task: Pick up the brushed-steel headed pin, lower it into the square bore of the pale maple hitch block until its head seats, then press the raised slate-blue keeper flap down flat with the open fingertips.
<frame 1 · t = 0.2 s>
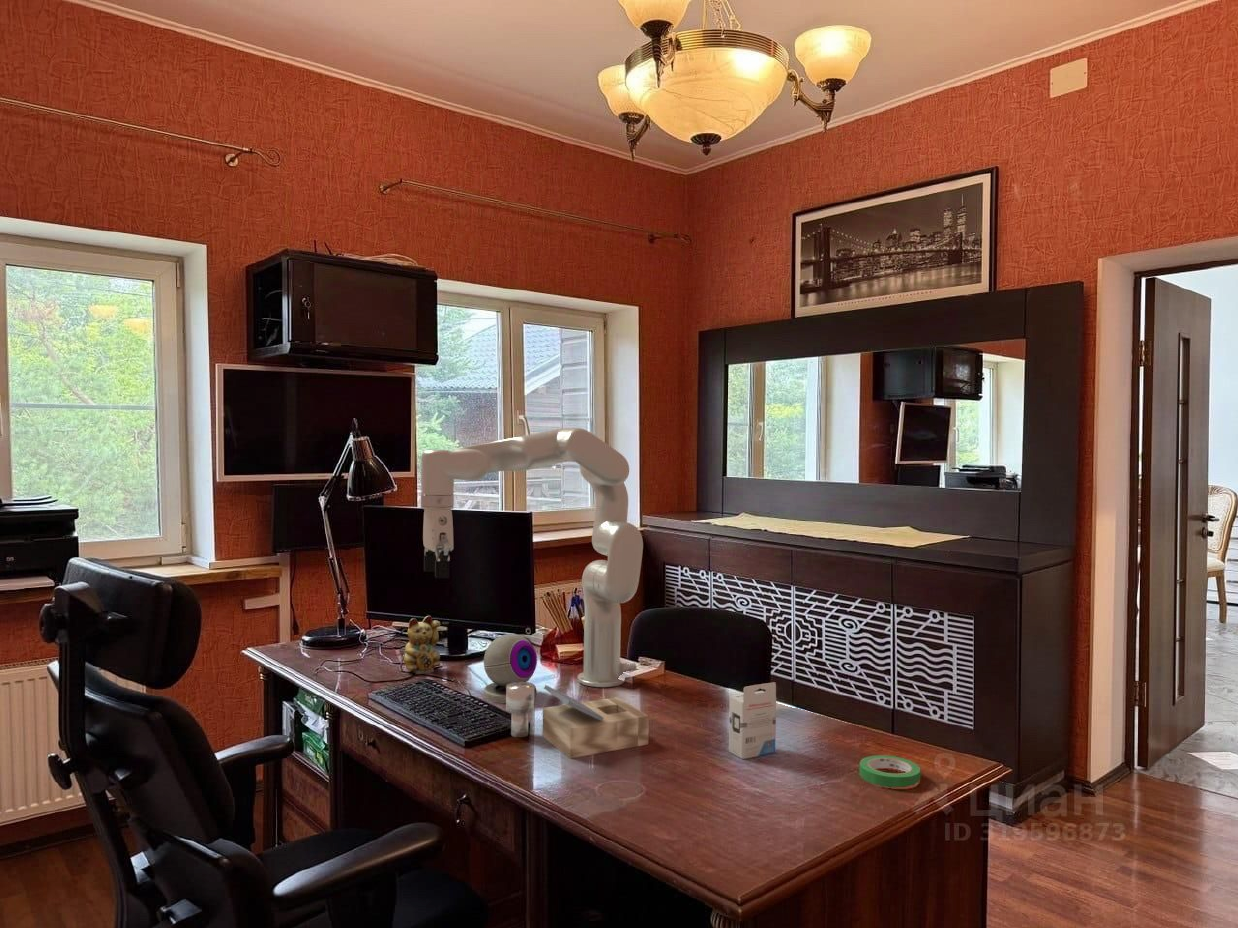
hand: (436, 574, 201), 31 cm above the table, fingers open, 9 cm apart
hitch block: (594, 739, 180), on the table
webcam: (509, 695, 211), on the table
decorative figurine: (420, 671, 230), on the table
tape roll: (889, 780, 163), on the table
ink box: (751, 753, 175), on the table
keeper flap: (573, 702, 178), point 9 cm above the table, hinge at 30.0°
steel pin: (519, 734, 183), on the table
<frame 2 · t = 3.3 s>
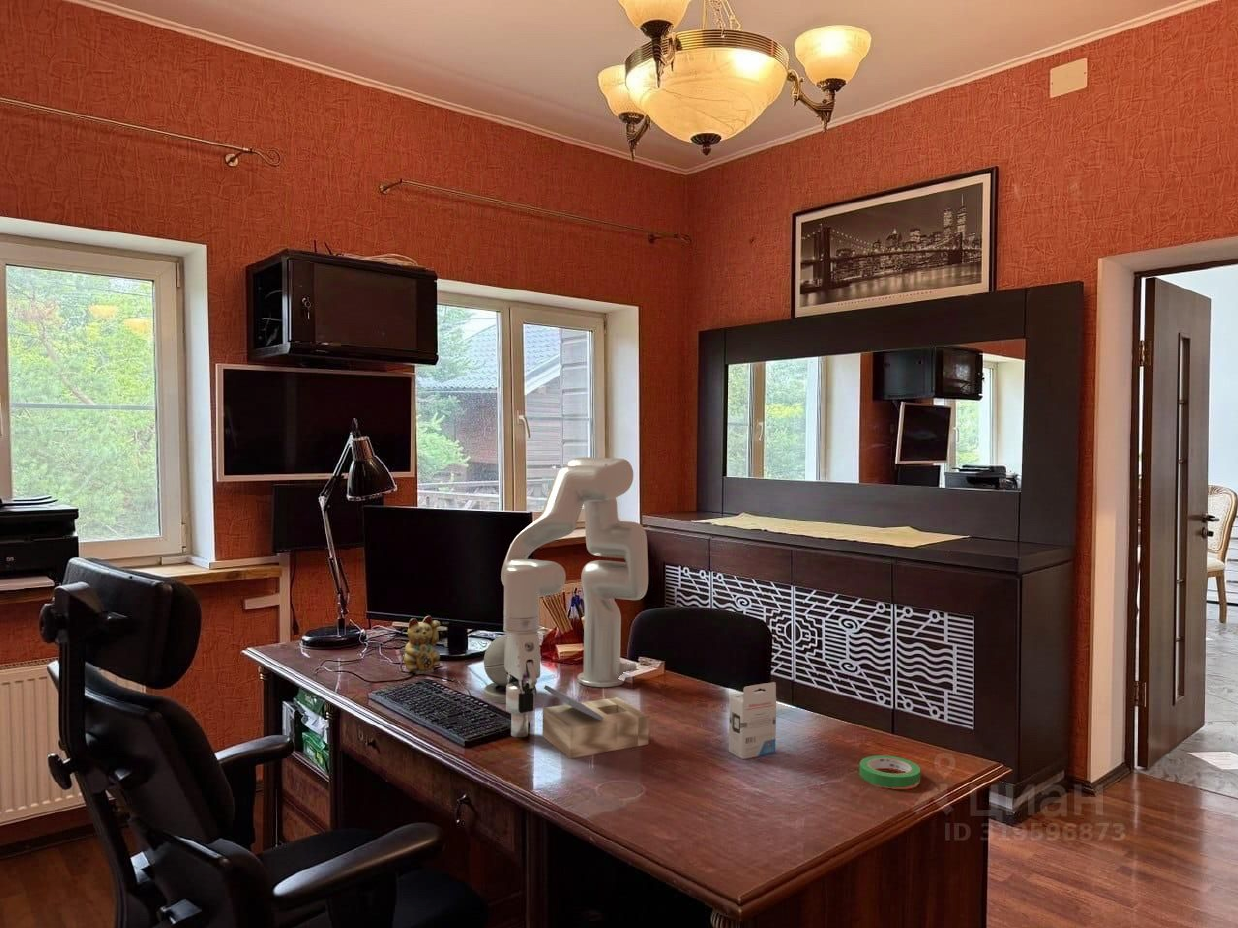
hand: (519, 705, 183), 6 cm above the table, fingers closed on steel pin, 6 cm apart
steel pin: (519, 734, 183), on the table, touching gripper
everything else where it was.
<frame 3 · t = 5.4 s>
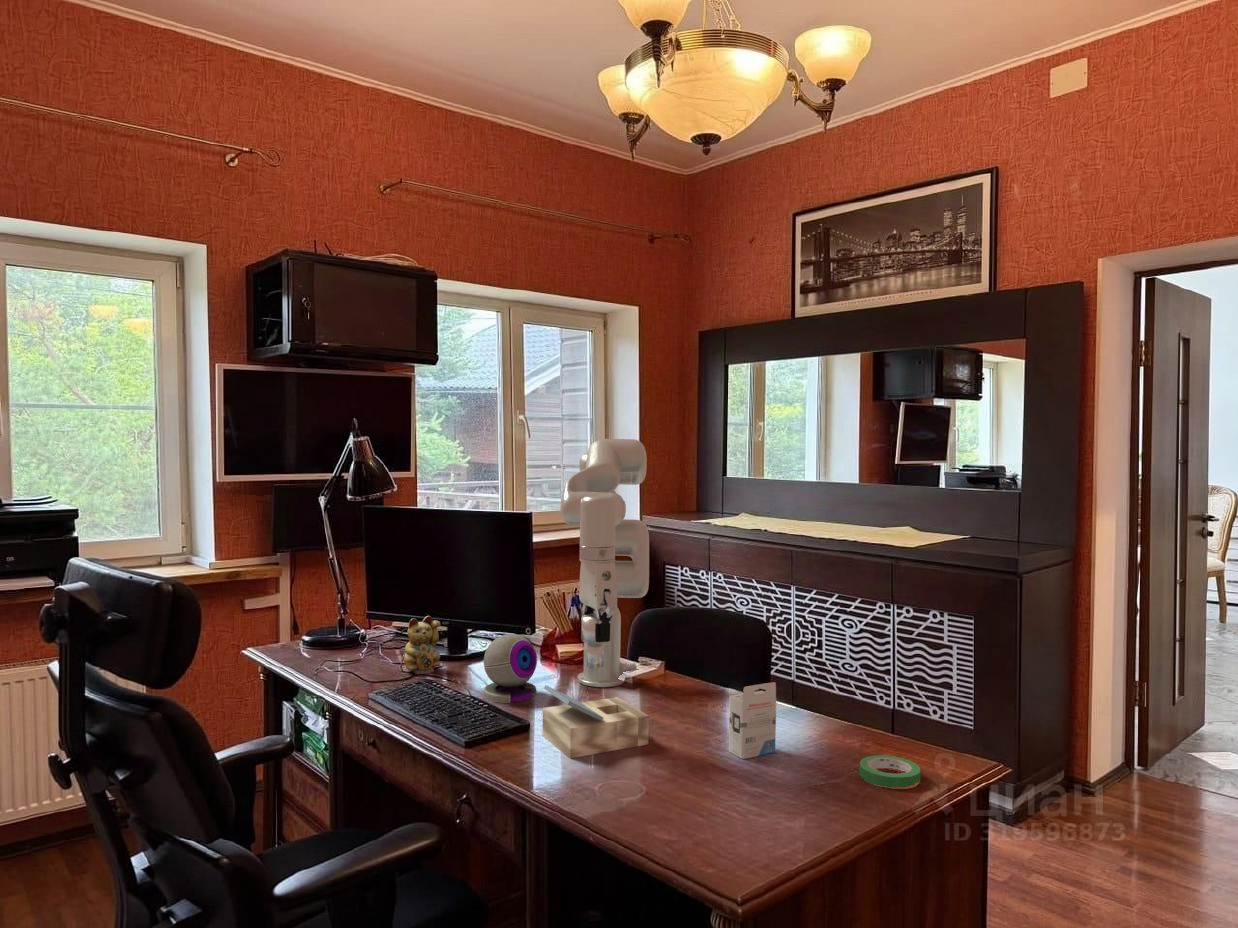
hand: (595, 637, 182), 21 cm above the table, fingers closed on steel pin, 6 cm apart
steel pin: (594, 665, 182), point 15 cm above the table, touching gripper
everything else where it was.
when the fingers open (7 cm above the table, at t = 7.7 s): steel pin stays where it is, resting on hitch block.
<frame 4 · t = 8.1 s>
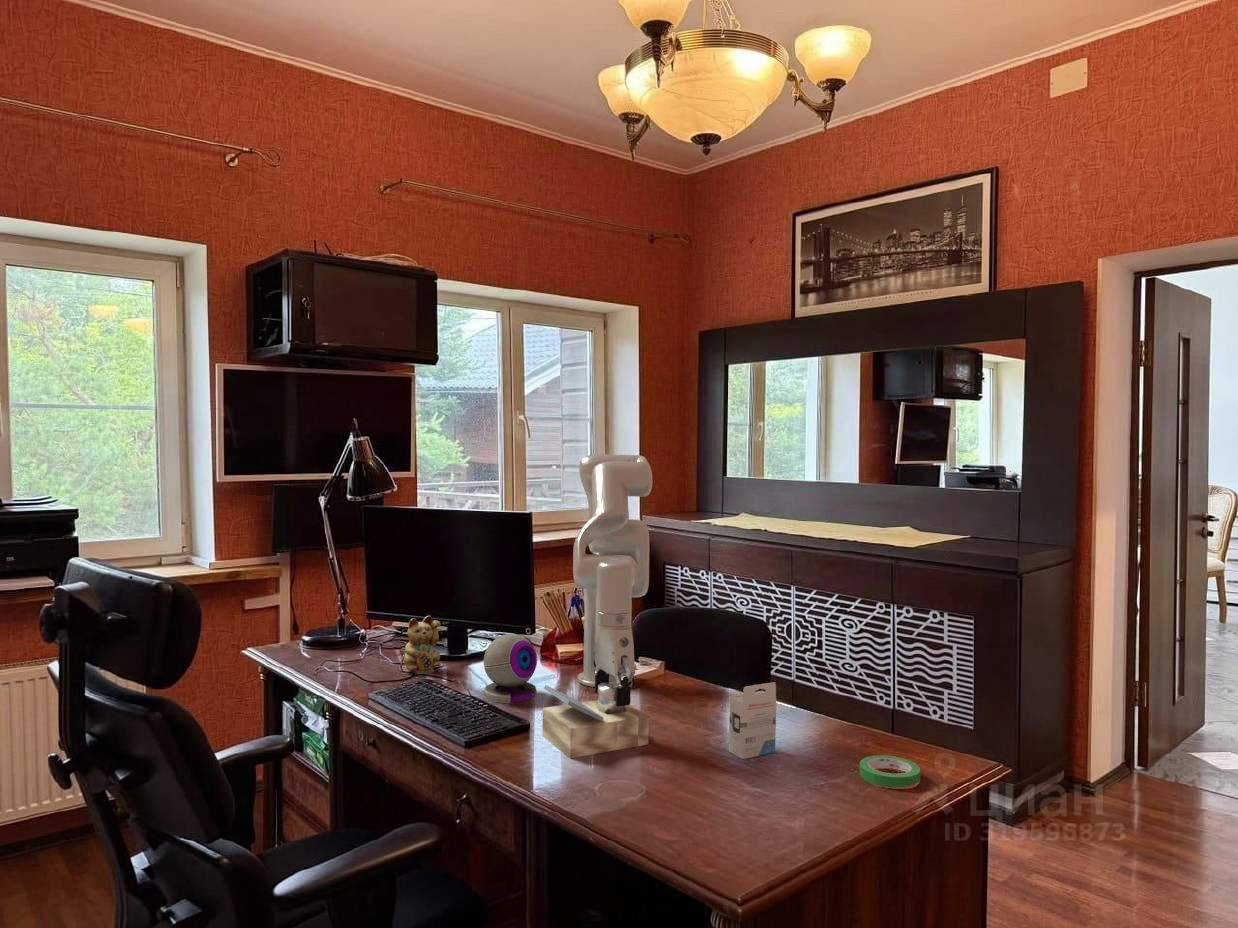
hand: (612, 698, 182), 8 cm above the table, fingers open, 9 cm apart
steel pin: (611, 734, 182), resting on hitch block
everything else where it was.
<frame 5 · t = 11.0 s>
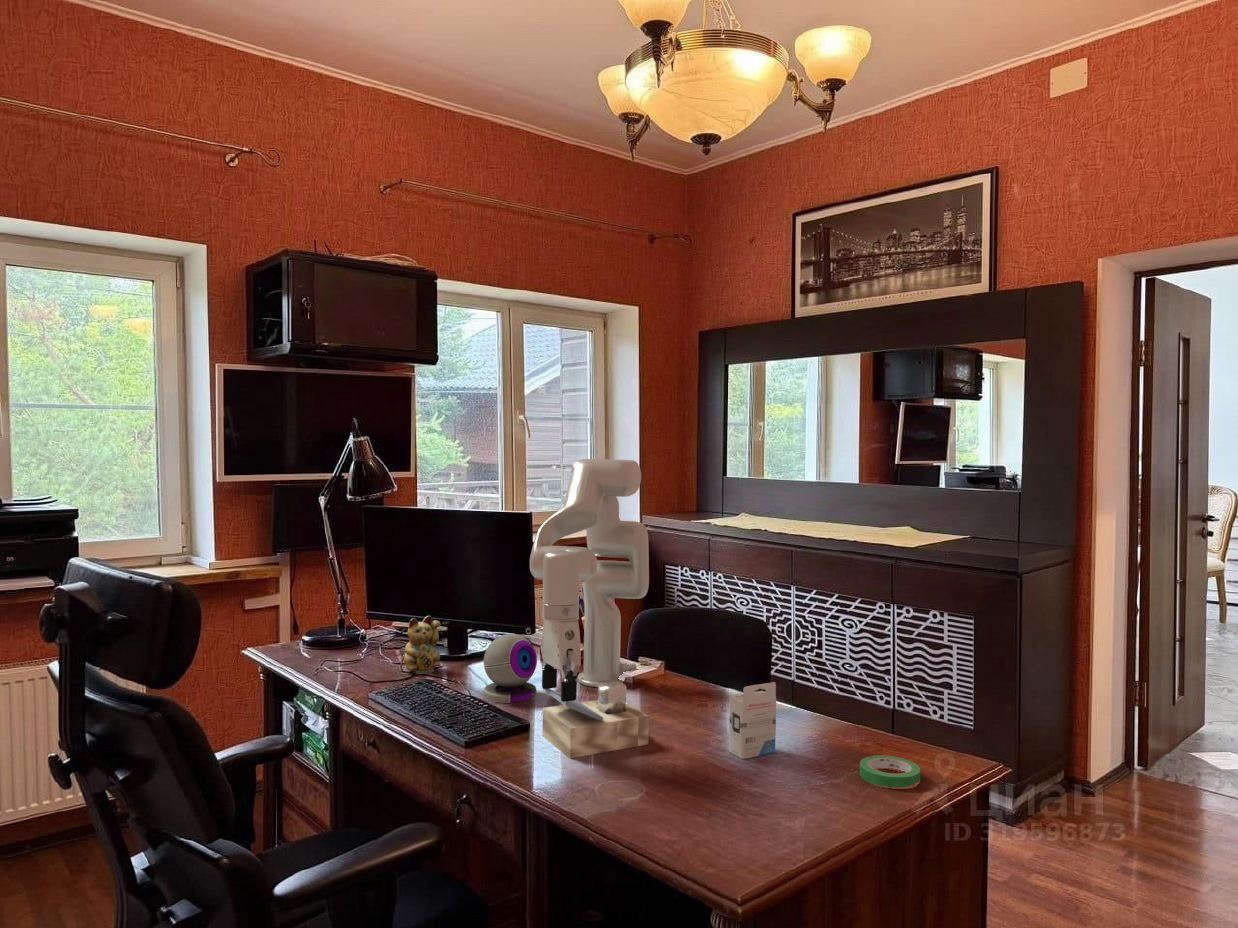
hand: (558, 694, 176), 11 cm above the table, fingers open, 9 cm apart
keeper flap: (572, 703, 178), point 8 cm above the table, hinge at 27.5°, touching gripper
everything else where it was.
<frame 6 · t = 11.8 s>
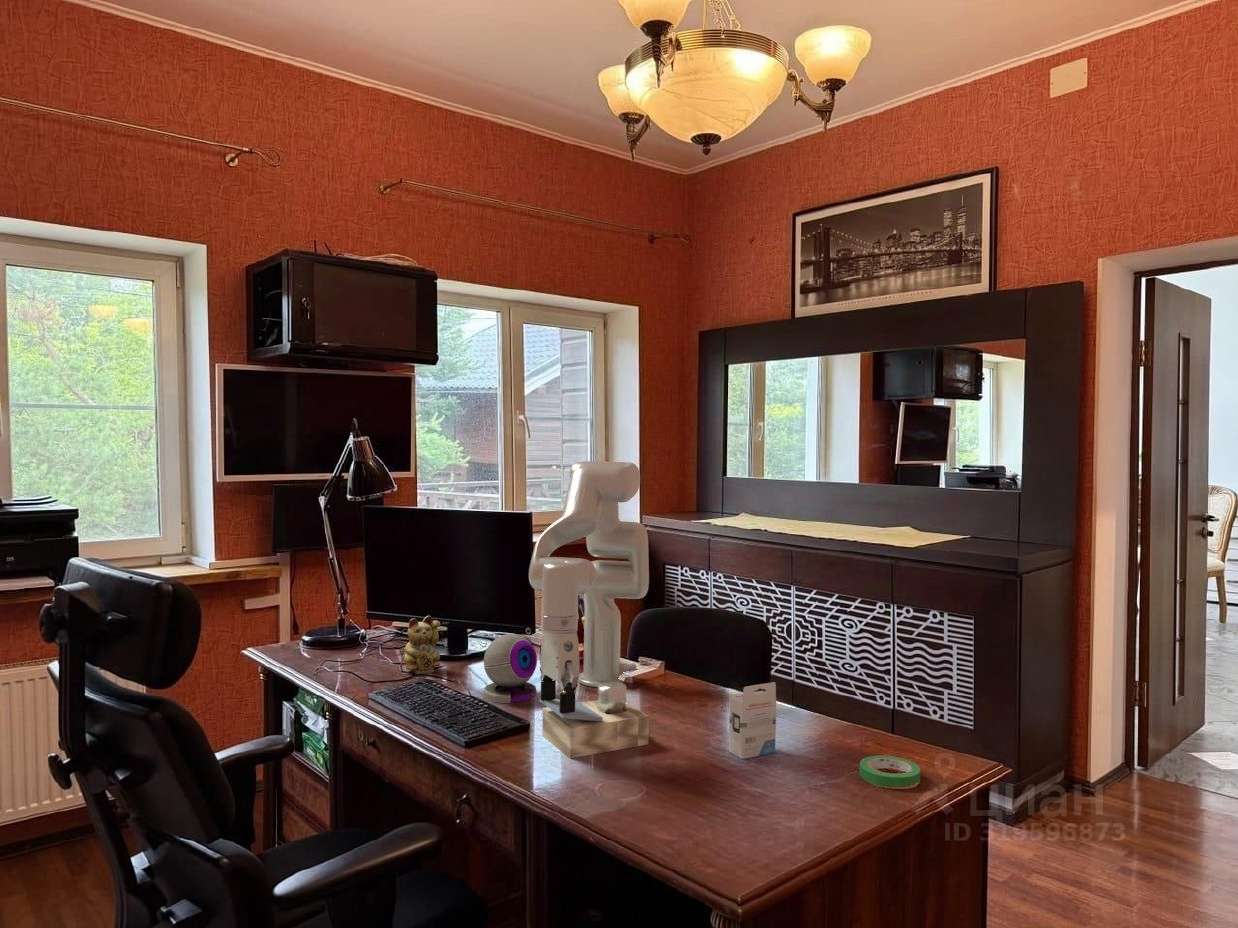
hand: (557, 706, 175), 9 cm above the table
keeper flap: (570, 708, 177), point 7 cm above the table, hinge at 12.5°, touching gripper
everything else where it was.
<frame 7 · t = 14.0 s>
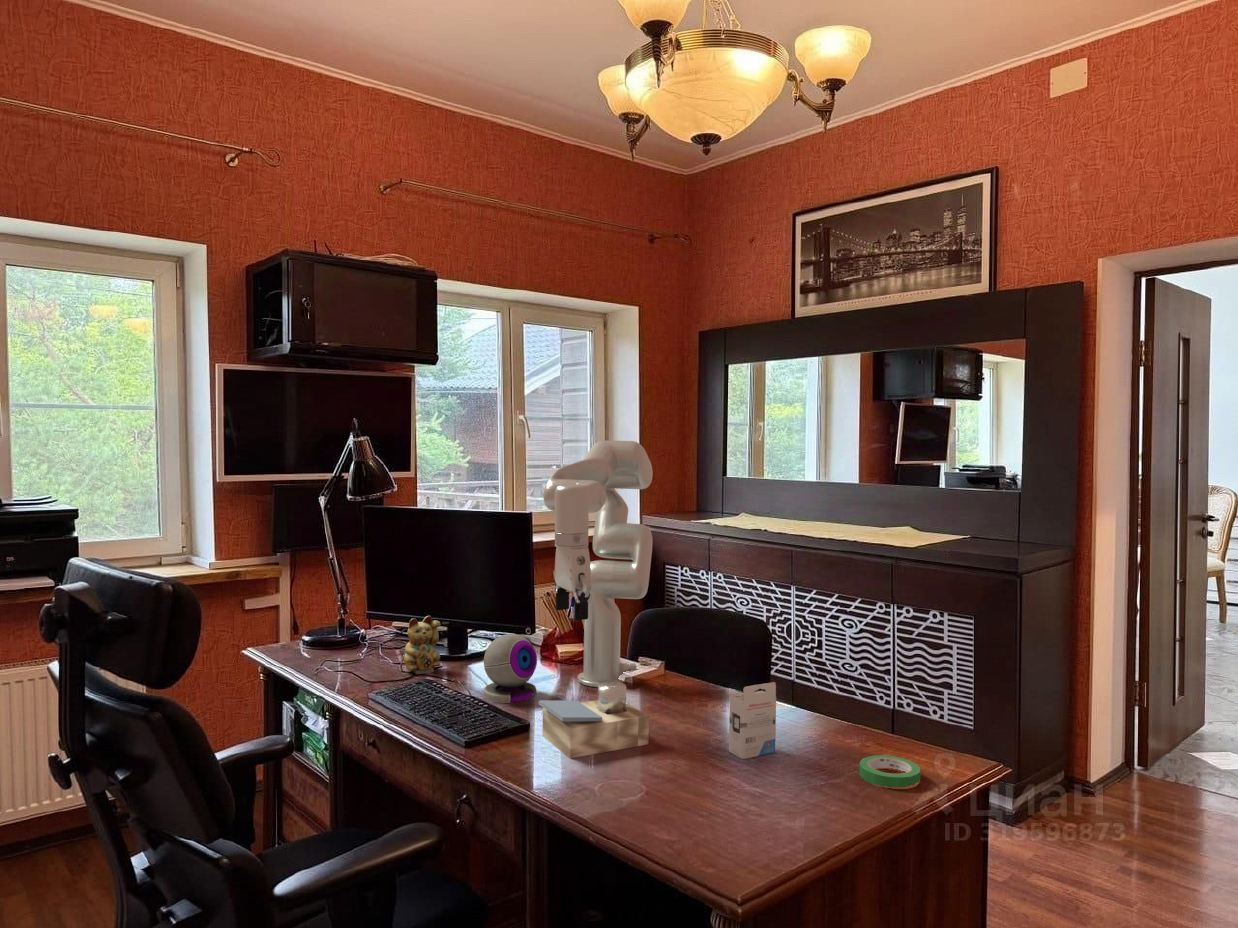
hand: (571, 614, 192), 24 cm above the table, fingers open, 9 cm apart
keeper flap: (569, 710, 177), point 7 cm above the table, hinge at 8.2°
everything else where it was.
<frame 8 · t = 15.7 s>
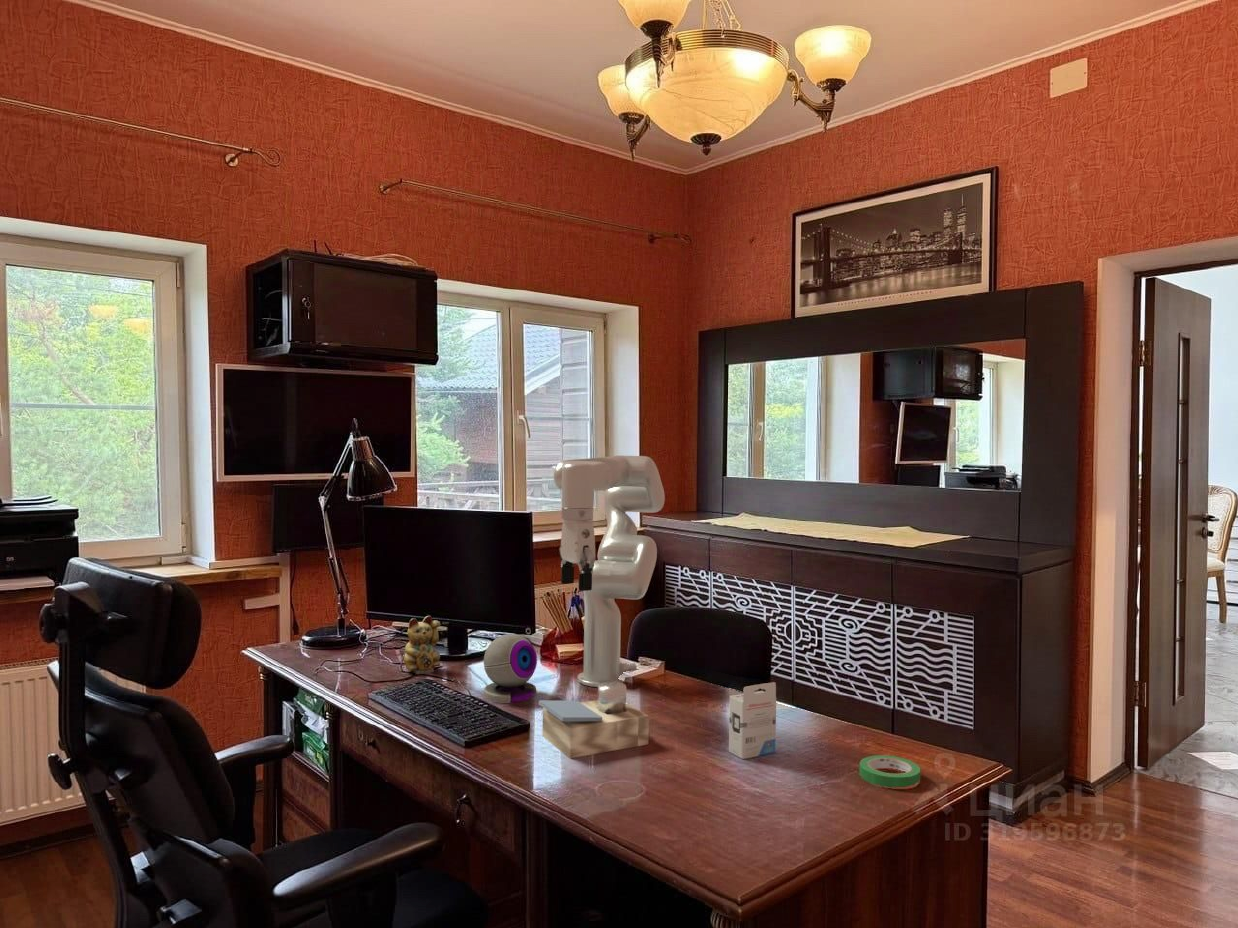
hand: (576, 586, 202), 28 cm above the table, fingers open, 9 cm apart
nothing on the table moved.
at the end: steel pin 0.1 cm from the target spot on the hitch block, point 0.5 cm above the hitch block's base; steel pin tilted 0°; keeper flap at +8° (first picture: +30°) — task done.
